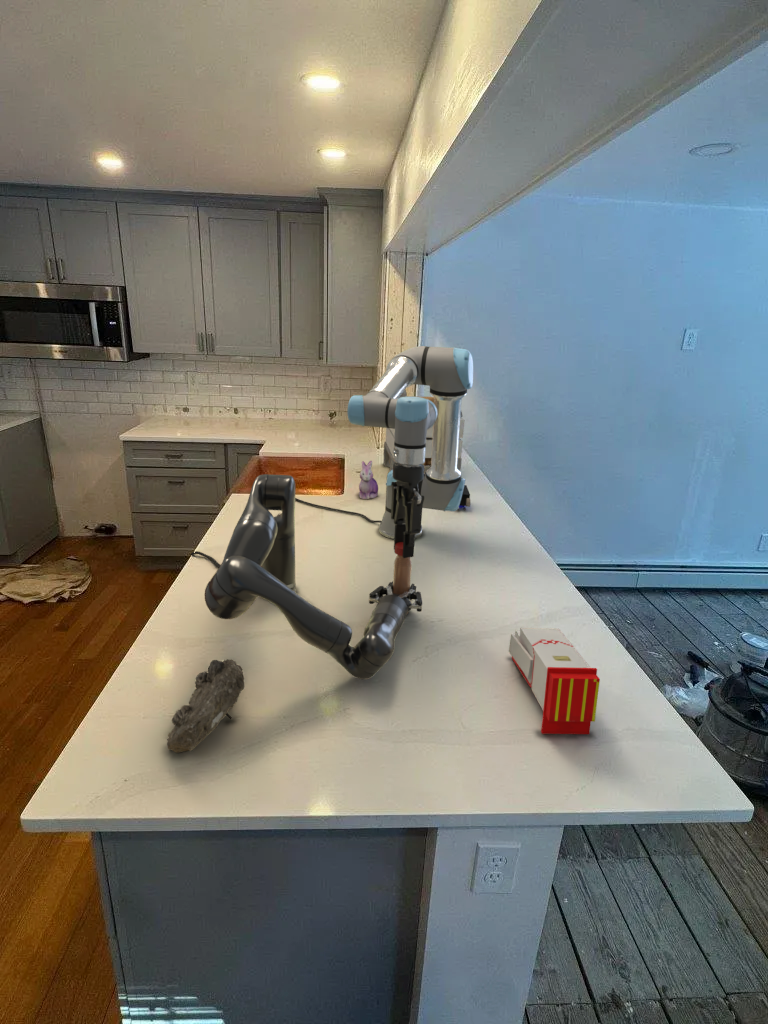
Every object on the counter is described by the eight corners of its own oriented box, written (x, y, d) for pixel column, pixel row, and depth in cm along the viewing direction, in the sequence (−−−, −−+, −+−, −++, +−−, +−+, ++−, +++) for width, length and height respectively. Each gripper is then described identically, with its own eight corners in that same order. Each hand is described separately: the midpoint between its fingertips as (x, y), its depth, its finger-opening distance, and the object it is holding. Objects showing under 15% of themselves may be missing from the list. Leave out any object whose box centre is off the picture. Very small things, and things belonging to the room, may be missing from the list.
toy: (555, 612, 132) (609, 675, 103) (550, 665, 135) (600, 741, 106) (504, 611, 132) (543, 673, 102) (499, 664, 134) (536, 740, 105)
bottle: (409, 608, 151) (413, 545, 144) (407, 616, 146) (411, 552, 140) (392, 606, 151) (396, 543, 145) (390, 614, 147) (393, 550, 141)
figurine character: (470, 515, 225) (465, 499, 238) (472, 498, 221) (467, 483, 235) (453, 515, 224) (449, 499, 238) (455, 497, 221) (451, 482, 234)
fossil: (192, 660, 117) (244, 628, 112) (224, 691, 120) (276, 661, 115) (142, 746, 98) (202, 712, 93) (182, 779, 101) (242, 748, 96)
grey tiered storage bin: (382, 463, 289) (386, 382, 275) (445, 464, 293) (451, 384, 279) (390, 482, 257) (394, 392, 243) (460, 483, 261) (468, 394, 247)
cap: (409, 557, 140) (409, 550, 140) (392, 554, 142) (392, 546, 141) (414, 550, 144) (415, 543, 144) (398, 547, 146) (398, 540, 145)
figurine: (363, 500, 232) (364, 465, 227) (352, 493, 240) (353, 459, 235) (383, 498, 236) (385, 463, 231) (372, 491, 244) (373, 457, 239)
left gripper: (358, 625, 136) (376, 593, 152) (416, 635, 133) (429, 602, 149) (359, 598, 134) (378, 568, 150) (419, 607, 131) (431, 576, 146)
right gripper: (379, 455, 141) (376, 541, 149) (411, 474, 126) (405, 569, 134) (406, 453, 144) (401, 538, 152) (440, 471, 129) (433, 564, 137)
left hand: (403, 585), depth 149 cm, fingers closed on bottle, 4 cm apart
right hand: (403, 552), depth 143 cm, fingers closed on cap, 4 cm apart
